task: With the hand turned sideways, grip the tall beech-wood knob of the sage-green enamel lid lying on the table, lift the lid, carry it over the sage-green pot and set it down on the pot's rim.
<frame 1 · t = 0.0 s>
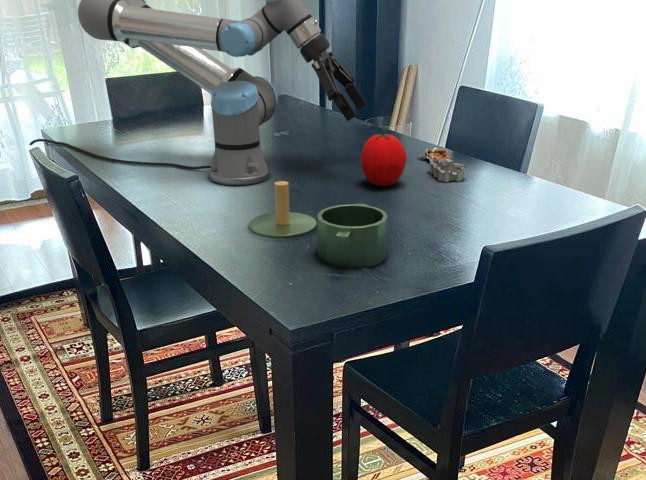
hand: (357, 112, 199), 15 cm above the table, tool tilted 35°, fingers open, 13 cm apart
lid: (283, 225, 167), point 1 cm above the table
tomato: (382, 185, 195), on the table
egg carton: (445, 176, 201), on the table
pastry: (439, 162, 213), on the table
pot: (351, 255, 154), on the table
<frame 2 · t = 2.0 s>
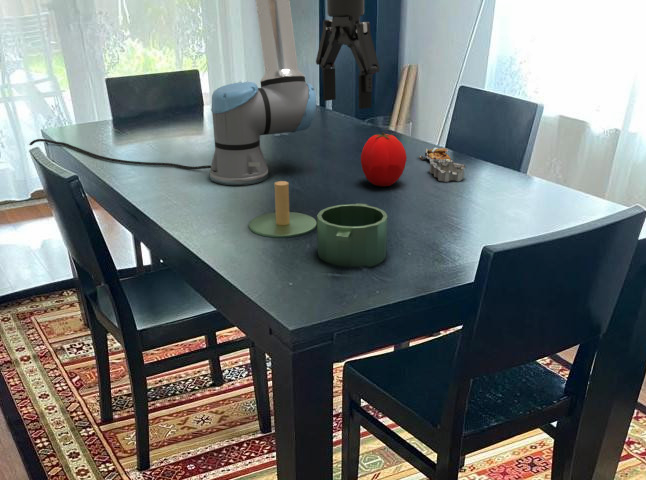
hand: (346, 104, 163), 25 cm above the table, tool pointing down, fingers open, 13 cm apart
nothing on the table moved.
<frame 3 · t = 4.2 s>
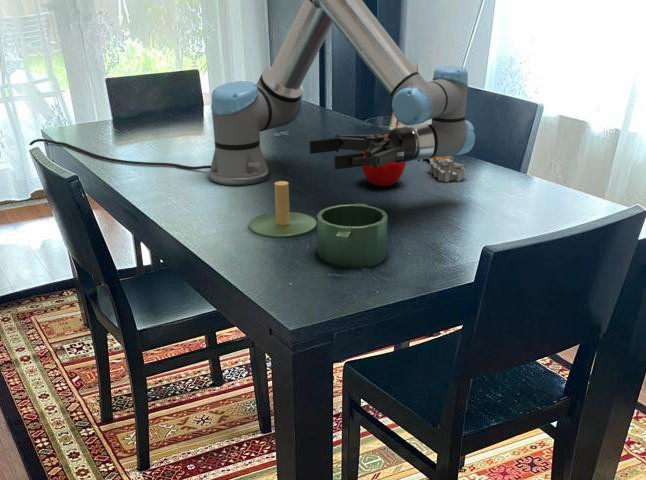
hand: (322, 154, 164), 15 cm above the table, tool horizontal, fingers open, 13 cm apart
nothing on the table moved.
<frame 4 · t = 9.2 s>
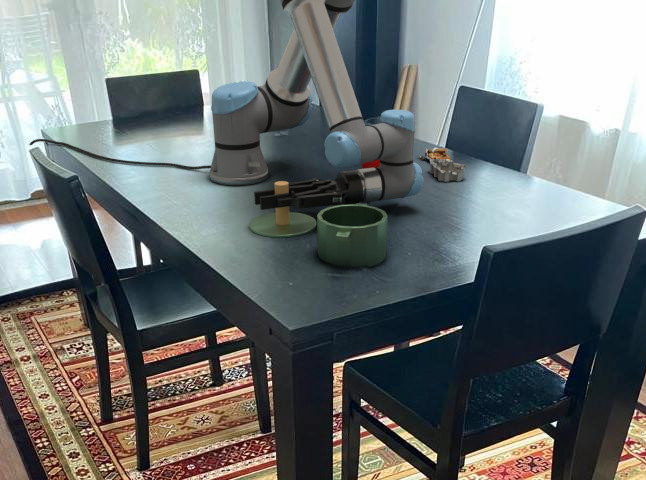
hand: (258, 200, 162), 7 cm above the table, tool horizontal, fingers closed on lid, 3 cm apart
lid: (282, 225, 167), point 1 cm above the table, touching gripper
everything else where it was.
when the fingers open (15 cm above the table, at t = 17.7 s): lid stays where it is, resting on pot.
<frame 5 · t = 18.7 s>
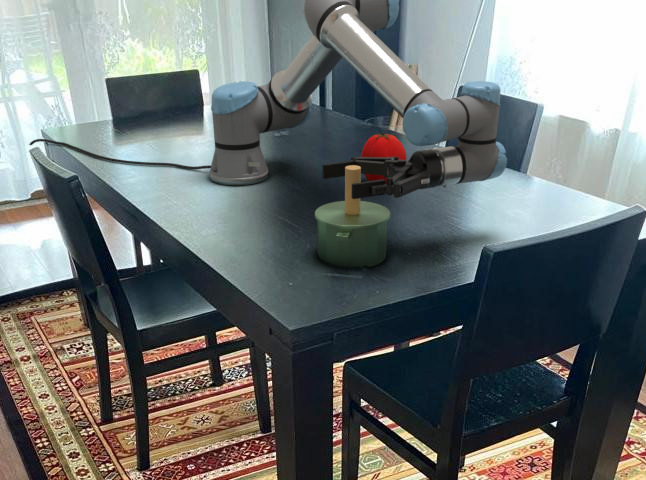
hand: (337, 181, 145), 16 cm above the table, tool horizontal, fingers open, 13 cm apart
lid: (352, 215, 150), point 8 cm above the table, touching pot
everything else where it was.
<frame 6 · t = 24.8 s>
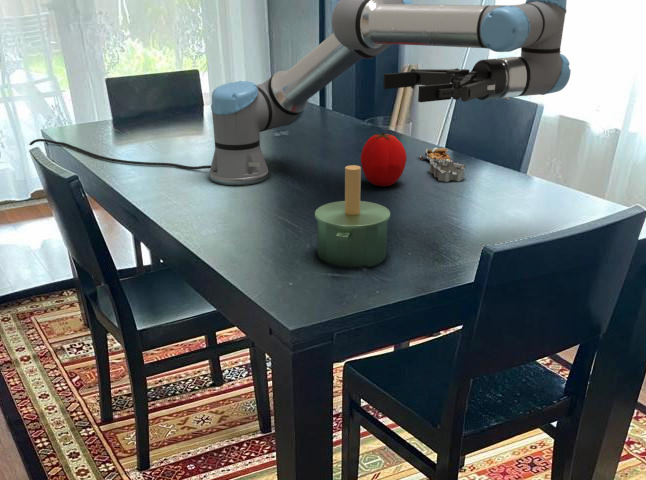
hand: (401, 87, 142), 32 cm above the table, tool horizontal, fingers open, 13 cm apart
nothing on the table moved.
at the end: lid 0.0 cm off-centre on the pot, point 8.5 cm above the pot's base; lid tilted 0°; the gripper is holding nothing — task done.
